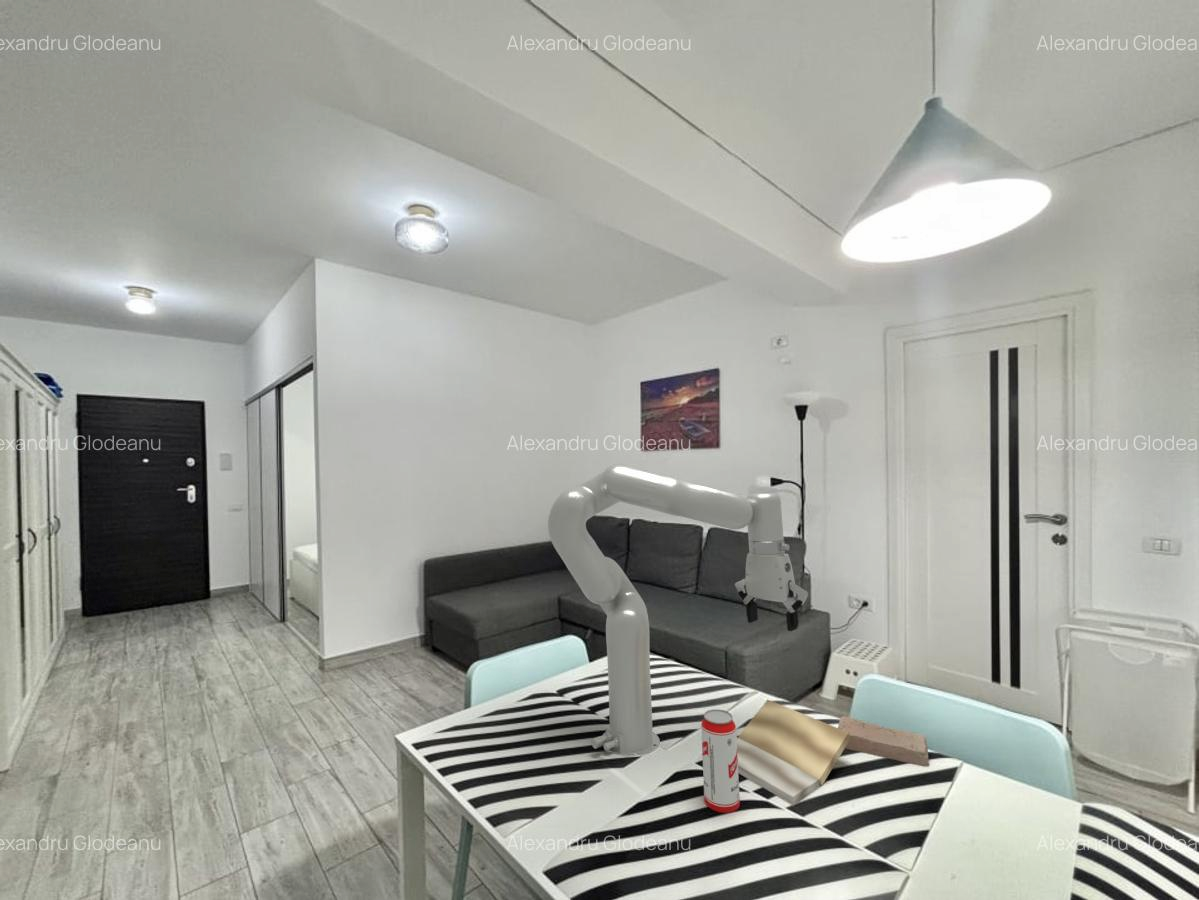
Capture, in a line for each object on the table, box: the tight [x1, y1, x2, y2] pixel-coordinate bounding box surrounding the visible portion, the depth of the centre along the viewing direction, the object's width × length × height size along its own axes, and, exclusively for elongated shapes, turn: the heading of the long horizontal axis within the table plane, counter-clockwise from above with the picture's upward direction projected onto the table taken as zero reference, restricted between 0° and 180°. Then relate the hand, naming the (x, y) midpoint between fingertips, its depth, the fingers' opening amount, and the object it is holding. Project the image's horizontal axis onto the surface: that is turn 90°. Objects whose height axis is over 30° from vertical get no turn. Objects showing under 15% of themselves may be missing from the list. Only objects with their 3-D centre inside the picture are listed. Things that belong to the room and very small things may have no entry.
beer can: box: [700, 708, 741, 814], centre depth 89 cm, size 6×6×16 cm
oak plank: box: [738, 699, 851, 786], centre depth 103 cm, size 12×19×2 cm, turn 37°
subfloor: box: [737, 736, 820, 806], centre depth 101 cm, size 24×20×2 cm
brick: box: [837, 716, 930, 768], centre depth 104 cm, size 17×8×5 cm, turn 59°
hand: (772, 625), depth 109 cm, fingers open, 9 cm apart
